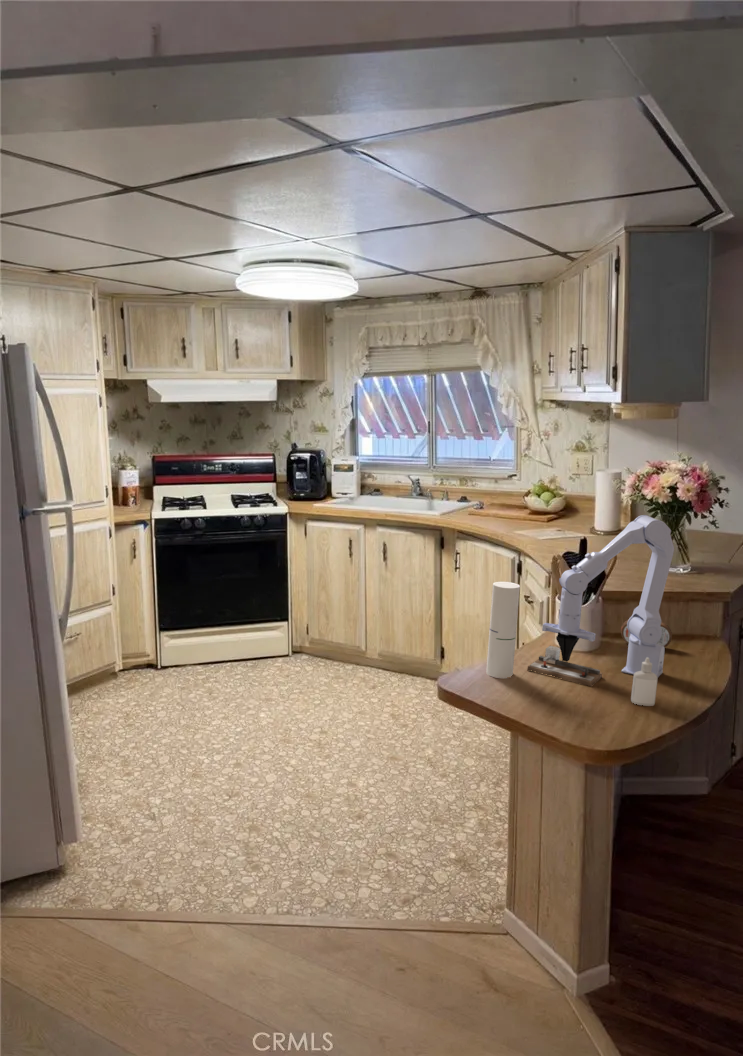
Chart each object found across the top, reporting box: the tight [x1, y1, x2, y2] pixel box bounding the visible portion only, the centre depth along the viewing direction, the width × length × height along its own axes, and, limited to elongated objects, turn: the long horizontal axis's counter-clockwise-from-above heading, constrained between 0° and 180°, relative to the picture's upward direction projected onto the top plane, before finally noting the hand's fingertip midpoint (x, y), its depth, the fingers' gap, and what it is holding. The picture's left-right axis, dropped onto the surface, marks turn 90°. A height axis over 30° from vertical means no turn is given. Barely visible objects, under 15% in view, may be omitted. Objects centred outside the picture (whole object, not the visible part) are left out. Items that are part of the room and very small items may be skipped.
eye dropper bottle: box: [630, 658, 659, 707], centre depth 189 cm, size 4×6×12 cm
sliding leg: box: [543, 645, 561, 666], centre depth 211 cm, size 3×7×4 cm, turn 146°
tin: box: [620, 619, 673, 649], centre depth 235 cm, size 15×3×8 cm, turn 72°
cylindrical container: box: [485, 581, 521, 679], centre depth 204 cm, size 7×7×25 cm
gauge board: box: [527, 655, 603, 687], centre depth 208 cm, size 18×9×3 cm, turn 56°
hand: (565, 660), depth 211 cm, fingers closed
